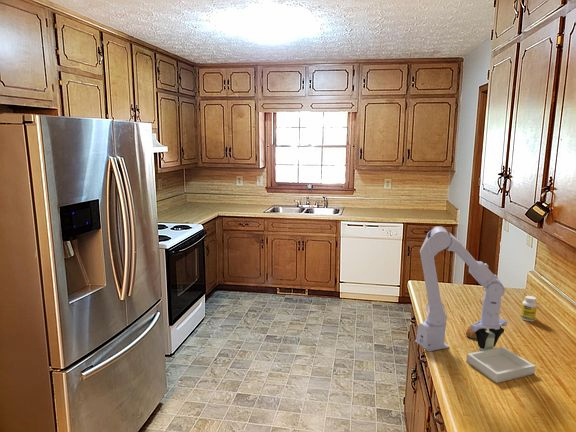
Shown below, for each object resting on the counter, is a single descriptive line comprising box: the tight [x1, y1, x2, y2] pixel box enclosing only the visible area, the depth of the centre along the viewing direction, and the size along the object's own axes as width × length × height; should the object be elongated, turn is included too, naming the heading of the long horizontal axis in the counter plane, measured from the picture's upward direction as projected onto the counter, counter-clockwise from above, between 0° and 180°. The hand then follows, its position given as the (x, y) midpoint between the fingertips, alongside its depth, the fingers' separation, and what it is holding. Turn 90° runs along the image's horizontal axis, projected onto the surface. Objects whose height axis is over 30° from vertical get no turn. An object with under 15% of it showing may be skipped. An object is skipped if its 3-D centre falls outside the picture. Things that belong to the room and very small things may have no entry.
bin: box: [465, 346, 536, 384], centre depth 139 cm, size 16×13×3 cm
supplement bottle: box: [520, 295, 538, 322], centre depth 176 cm, size 5×5×10 cm
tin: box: [478, 330, 495, 352], centre depth 149 cm, size 5×5×7 cm
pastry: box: [465, 325, 489, 340], centre depth 162 cm, size 9×7×4 cm
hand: (486, 346), depth 150 cm, fingers closed on tin, 4 cm apart
